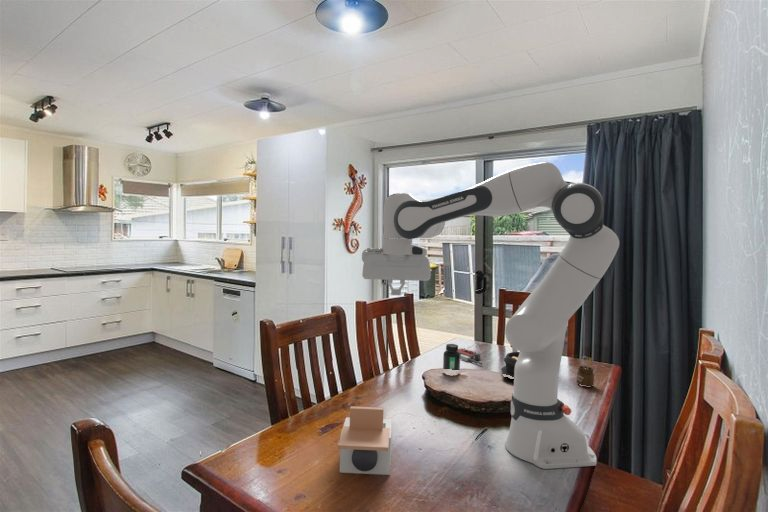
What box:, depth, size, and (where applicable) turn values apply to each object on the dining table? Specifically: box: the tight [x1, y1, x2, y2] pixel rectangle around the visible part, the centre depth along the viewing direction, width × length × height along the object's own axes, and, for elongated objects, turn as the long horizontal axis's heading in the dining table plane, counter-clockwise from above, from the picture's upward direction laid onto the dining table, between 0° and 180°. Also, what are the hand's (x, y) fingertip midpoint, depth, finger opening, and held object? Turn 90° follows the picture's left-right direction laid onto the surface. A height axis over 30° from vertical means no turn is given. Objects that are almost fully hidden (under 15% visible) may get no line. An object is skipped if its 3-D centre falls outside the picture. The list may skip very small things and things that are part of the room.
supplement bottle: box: [442, 343, 461, 370], centre depth 172 cm, size 7×7×12 cm
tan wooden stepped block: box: [337, 405, 390, 451], centre depth 96 cm, size 11×9×6 cm
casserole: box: [501, 351, 520, 377], centre depth 171 cm, size 25×19×8 cm
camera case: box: [339, 416, 393, 476], centre depth 103 cm, size 12×12×9 cm
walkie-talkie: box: [458, 347, 483, 366], centre depth 193 cm, size 9×4×20 cm
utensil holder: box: [576, 355, 595, 386], centre depth 162 cm, size 6×6×12 cm
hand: (396, 295), depth 123 cm, fingers closed
